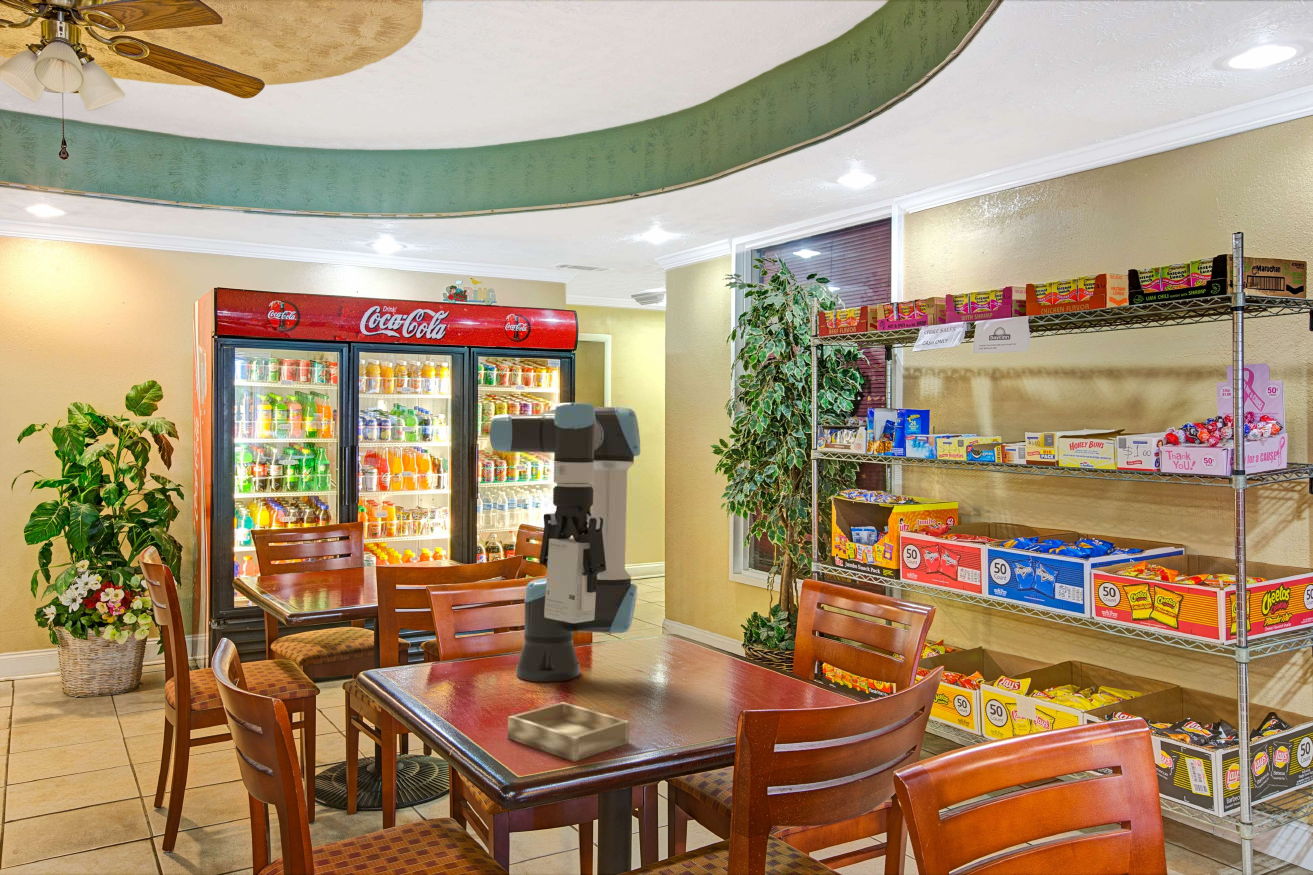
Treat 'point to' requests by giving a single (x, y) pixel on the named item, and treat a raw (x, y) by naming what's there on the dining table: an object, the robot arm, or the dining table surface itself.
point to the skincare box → (565, 582)
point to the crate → (568, 730)
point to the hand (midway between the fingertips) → (570, 606)
